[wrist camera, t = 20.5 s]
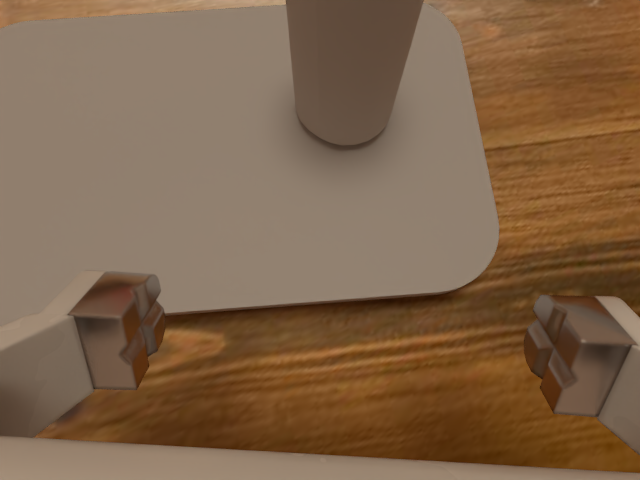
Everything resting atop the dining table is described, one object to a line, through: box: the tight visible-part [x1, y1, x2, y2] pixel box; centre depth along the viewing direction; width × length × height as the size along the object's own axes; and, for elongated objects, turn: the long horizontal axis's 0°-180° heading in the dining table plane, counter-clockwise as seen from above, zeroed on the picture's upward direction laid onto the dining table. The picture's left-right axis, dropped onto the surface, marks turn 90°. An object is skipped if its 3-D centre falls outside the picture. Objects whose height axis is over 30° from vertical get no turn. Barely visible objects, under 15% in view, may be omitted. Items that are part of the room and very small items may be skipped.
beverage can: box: [286, 0, 424, 145], centre depth 16 cm, size 5×5×12 cm
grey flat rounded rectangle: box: [0, 3, 499, 326], centre depth 23 cm, size 16×26×2 cm, turn 94°
